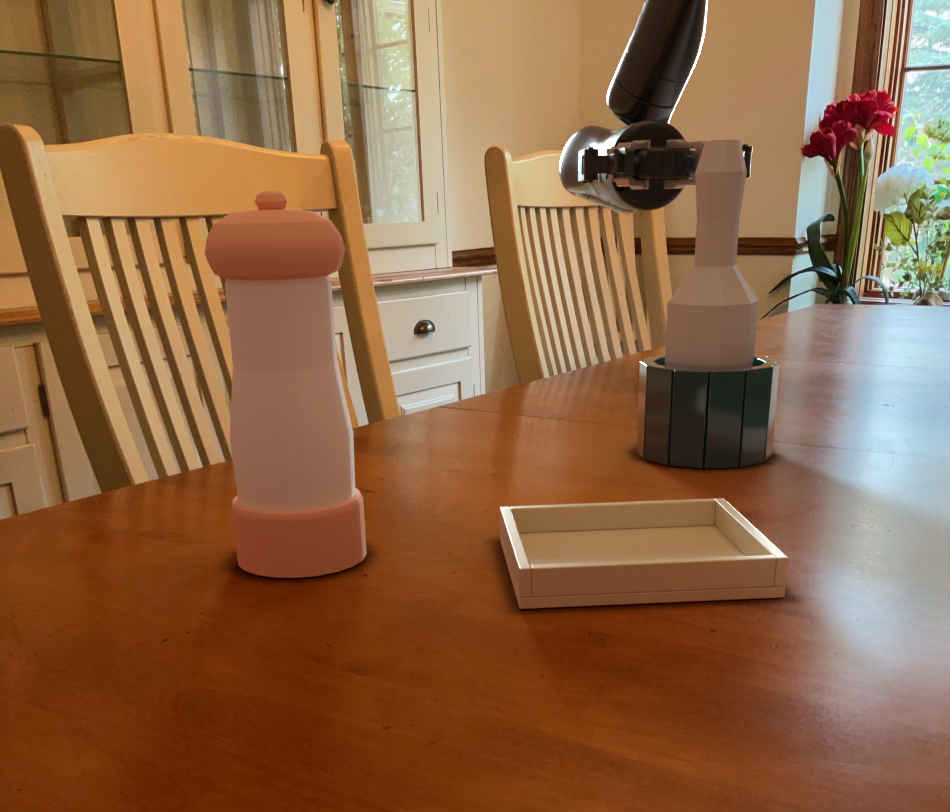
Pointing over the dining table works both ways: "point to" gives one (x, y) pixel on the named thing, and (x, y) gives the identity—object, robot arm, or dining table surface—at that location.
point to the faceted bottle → (714, 273)
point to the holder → (707, 414)
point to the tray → (637, 554)
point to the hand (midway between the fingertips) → (682, 161)
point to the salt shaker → (287, 393)
